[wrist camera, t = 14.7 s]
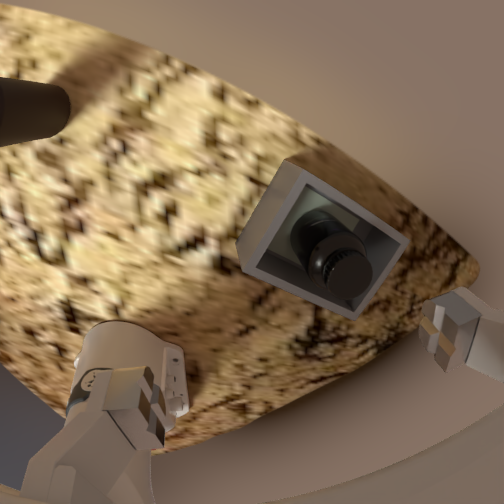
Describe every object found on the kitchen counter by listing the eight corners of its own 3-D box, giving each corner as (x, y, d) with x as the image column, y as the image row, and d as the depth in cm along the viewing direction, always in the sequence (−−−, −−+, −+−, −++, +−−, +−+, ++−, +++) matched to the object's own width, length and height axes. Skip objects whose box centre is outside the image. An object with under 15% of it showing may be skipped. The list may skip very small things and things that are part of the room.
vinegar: (76, 85, 30) (-27, 67, 12) (67, 139, 32) (-38, 165, 14) (31, 85, 28) (-77, 78, 10) (24, 137, 31) (-86, 163, 13)
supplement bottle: (317, 197, 38) (359, 229, 27) (348, 233, 41) (395, 274, 30) (276, 236, 40) (304, 282, 29) (311, 269, 42) (345, 320, 31)
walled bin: (379, 219, 42) (410, 240, 35) (333, 290, 45) (354, 321, 38) (284, 159, 37) (303, 168, 30) (235, 243, 40) (242, 271, 33)
